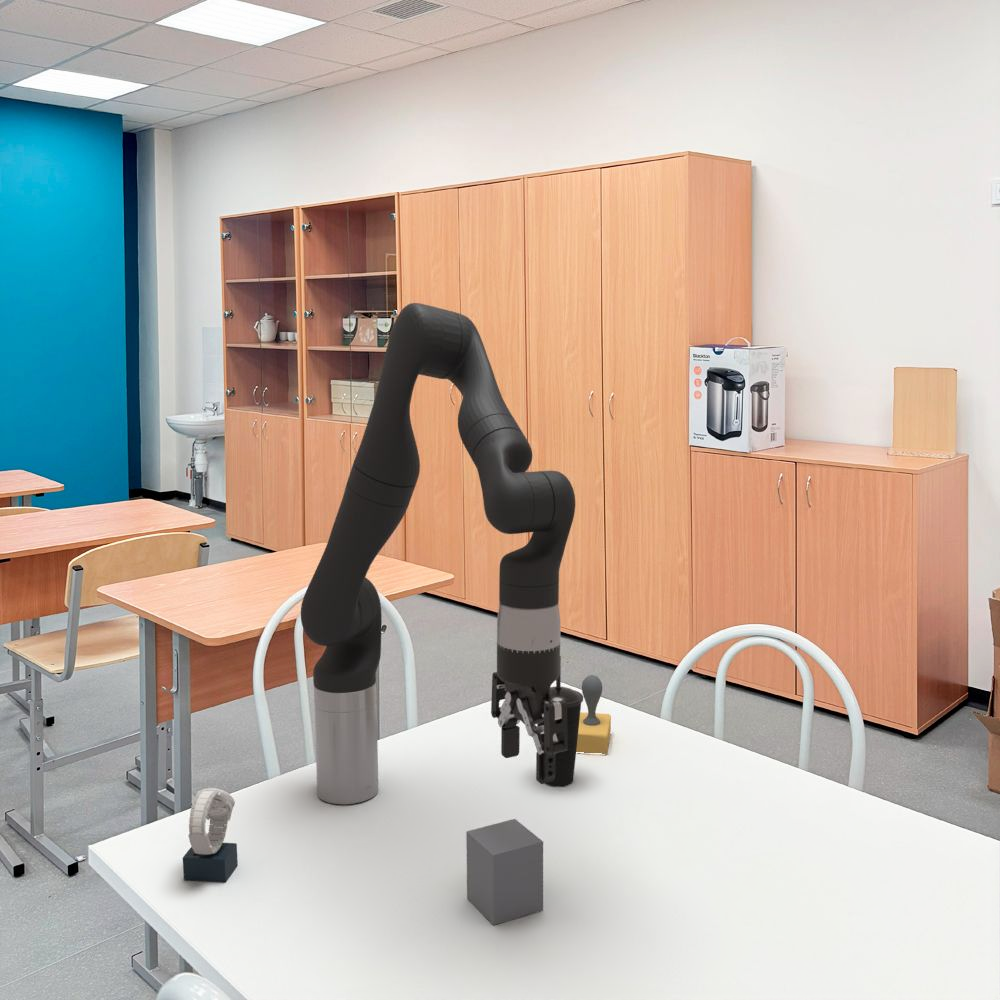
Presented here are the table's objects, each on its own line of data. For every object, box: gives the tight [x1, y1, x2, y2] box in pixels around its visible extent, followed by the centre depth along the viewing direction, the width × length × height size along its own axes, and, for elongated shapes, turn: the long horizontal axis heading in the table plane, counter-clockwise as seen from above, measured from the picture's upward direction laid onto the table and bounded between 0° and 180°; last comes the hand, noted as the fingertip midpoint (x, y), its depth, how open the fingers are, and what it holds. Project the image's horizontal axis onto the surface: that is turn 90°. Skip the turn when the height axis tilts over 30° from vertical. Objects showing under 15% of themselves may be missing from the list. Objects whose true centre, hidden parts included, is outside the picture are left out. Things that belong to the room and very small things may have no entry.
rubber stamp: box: [576, 674, 612, 755], centre depth 176 cm, size 10×6×12 cm, turn 171°
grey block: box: [465, 818, 544, 926], centre depth 127 cm, size 7×7×9 cm
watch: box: [182, 787, 239, 883], centre depth 134 cm, size 6×8×11 cm
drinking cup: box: [536, 655, 584, 787], centre depth 161 cm, size 8×8×20 cm
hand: (527, 768), depth 126 cm, fingers open, 8 cm apart
